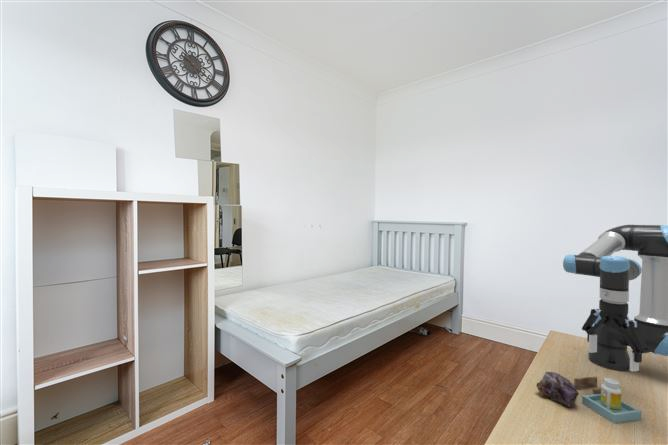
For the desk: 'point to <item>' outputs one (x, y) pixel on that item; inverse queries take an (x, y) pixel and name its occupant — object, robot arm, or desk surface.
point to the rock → (557, 389)
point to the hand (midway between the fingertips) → (612, 360)
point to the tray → (616, 417)
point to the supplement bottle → (611, 395)
